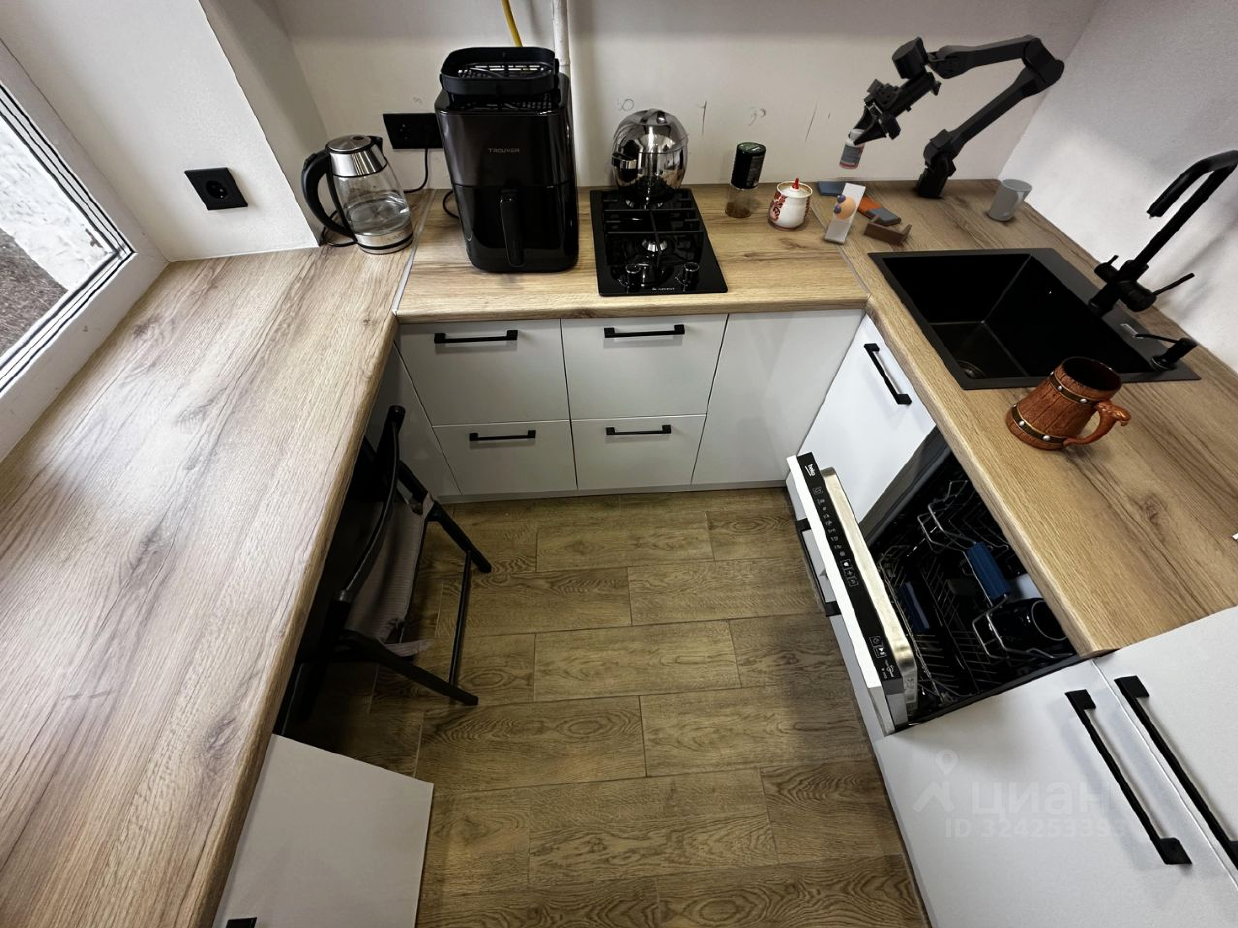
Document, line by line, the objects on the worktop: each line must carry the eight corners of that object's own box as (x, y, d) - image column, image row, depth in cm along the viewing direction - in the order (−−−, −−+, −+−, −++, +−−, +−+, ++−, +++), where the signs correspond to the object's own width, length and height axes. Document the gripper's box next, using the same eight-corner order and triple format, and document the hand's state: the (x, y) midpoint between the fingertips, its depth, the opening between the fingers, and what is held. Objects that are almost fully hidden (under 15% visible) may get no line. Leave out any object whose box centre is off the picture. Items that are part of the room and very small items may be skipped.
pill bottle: (857, 171, 148) (868, 135, 141) (838, 168, 149) (848, 133, 142) (857, 164, 151) (869, 129, 144) (839, 161, 152) (849, 127, 145)
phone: (866, 195, 150) (903, 218, 141) (864, 200, 151) (901, 223, 142) (848, 199, 148) (884, 222, 140) (846, 204, 149) (882, 227, 141)
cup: (1008, 211, 148) (1027, 180, 142) (1020, 228, 142) (1040, 195, 135) (980, 209, 149) (997, 177, 142) (990, 225, 143) (1009, 193, 136)
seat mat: (857, 186, 158) (858, 183, 157) (862, 197, 152) (863, 195, 152) (817, 183, 158) (817, 181, 158) (820, 195, 153) (821, 192, 152)
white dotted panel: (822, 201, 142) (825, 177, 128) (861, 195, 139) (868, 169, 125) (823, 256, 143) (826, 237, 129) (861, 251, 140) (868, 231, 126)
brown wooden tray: (872, 225, 141) (877, 214, 139) (907, 236, 138) (912, 225, 135) (863, 234, 138) (867, 223, 136) (898, 245, 134) (903, 234, 132)
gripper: (884, 57, 138) (829, 105, 147) (907, 77, 126) (846, 129, 135) (901, 93, 144) (847, 137, 153) (925, 116, 132) (865, 162, 141)
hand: (851, 140), depth 145 cm, fingers closed on pill bottle, 5 cm apart
